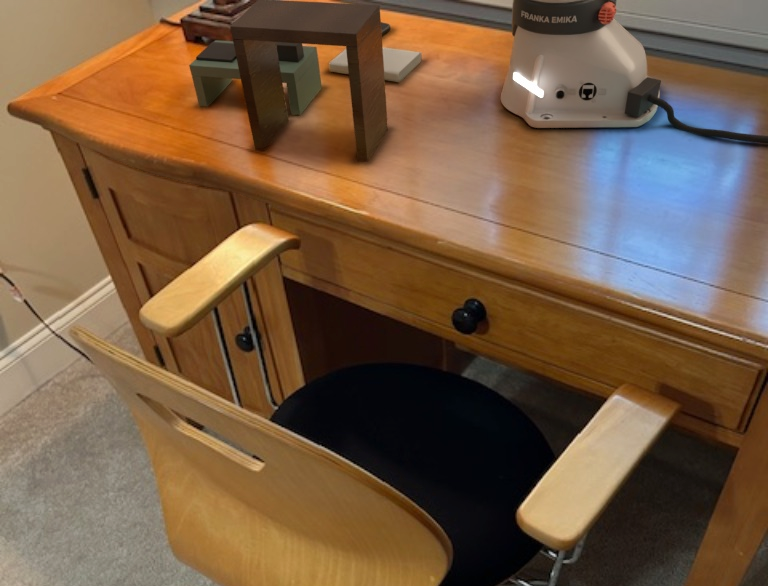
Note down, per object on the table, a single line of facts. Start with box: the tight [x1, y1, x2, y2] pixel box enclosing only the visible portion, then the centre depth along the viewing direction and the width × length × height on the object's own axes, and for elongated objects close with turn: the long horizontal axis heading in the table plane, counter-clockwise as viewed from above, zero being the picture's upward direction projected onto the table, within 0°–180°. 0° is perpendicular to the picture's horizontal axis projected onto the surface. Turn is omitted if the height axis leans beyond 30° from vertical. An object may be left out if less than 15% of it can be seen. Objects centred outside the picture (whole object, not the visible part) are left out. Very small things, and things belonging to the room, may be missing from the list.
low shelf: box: [188, 39, 323, 116], centre depth 120 cm, size 17×9×6 cm, turn 71°
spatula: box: [195, 41, 304, 63], centre depth 117 cm, size 16×6×2 cm, turn 71°
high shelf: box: [229, 0, 389, 163], centre depth 106 cm, size 17×9×16 cm, turn 71°
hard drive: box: [328, 46, 423, 83], centre depth 126 cm, size 2×8×12 cm
